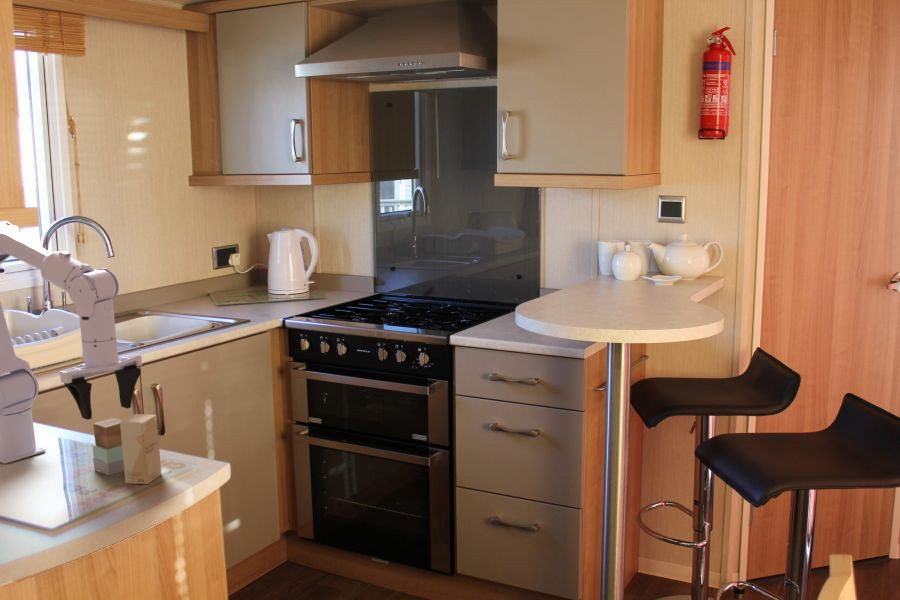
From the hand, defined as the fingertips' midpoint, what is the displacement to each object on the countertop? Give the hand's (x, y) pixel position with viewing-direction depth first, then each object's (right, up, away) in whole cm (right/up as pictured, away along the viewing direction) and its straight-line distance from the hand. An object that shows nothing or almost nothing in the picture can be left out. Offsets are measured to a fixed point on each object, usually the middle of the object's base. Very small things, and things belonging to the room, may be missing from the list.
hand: (106, 412), depth 160 cm
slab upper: (+1, -8, +1) cm, 8 cm away
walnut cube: (+1, -6, +1) cm, 6 cm away
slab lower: (+1, -11, +1) cm, 11 cm away
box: (+8, -11, -4) cm, 14 cm away
